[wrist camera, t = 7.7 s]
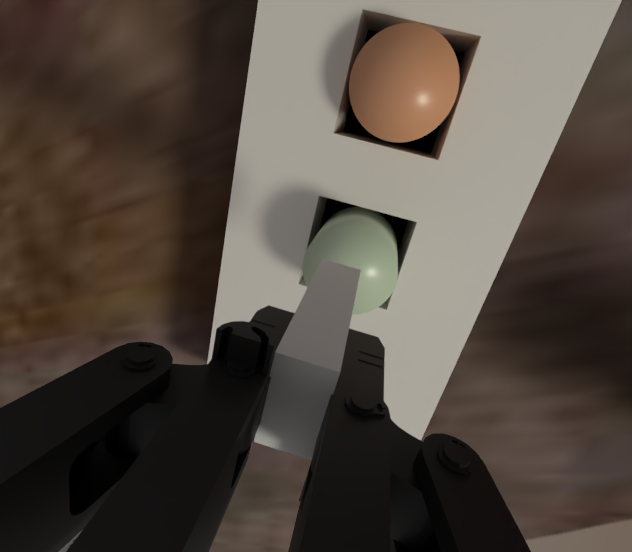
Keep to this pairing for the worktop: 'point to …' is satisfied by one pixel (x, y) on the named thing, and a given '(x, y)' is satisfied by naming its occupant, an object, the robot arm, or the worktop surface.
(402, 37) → the rust button
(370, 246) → the sage button
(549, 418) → the worktop surface
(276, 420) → the robot arm
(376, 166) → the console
